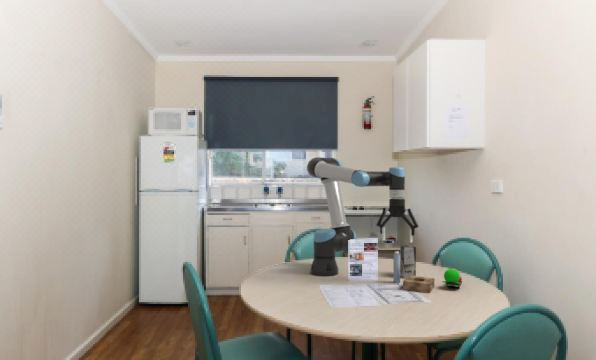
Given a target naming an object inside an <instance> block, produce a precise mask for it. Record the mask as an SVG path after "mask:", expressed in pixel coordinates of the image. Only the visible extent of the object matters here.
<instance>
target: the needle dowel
mask: <svg viewBox="0 0 596 360" xmlns="http://www.w3.org/2000/svg"><path fill="white" fill-rule="evenodd" d="M392 280H393V283H395V284H400V283H401V275H400V251H399V250H398V251H394V253H393V277H392Z"/></svg>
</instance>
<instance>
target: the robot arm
mask: <svg viewBox="0 0 596 360" xmlns="http://www.w3.org/2000/svg"><path fill="white" fill-rule="evenodd" d="M306 171H307V173H308V174H309V176H311V177H312V178H315V179H316V178H318V179H320V182H321V183H322V184H323V185H324V190H325V196H326V201H327V207H328V212H329V217H330V223H331V226H330V228H321V229H317V230H316V231H315V232H314V234H313V259H312V260H313V261H312V263H311V266H310V274H311V275H313V274H314V276H318V277H330V276H337V275H339V266H338V264H337V260H336V253H338V252H345V251H349V250H348V240H350V239H356V240H357V234H356V232H355V231H354V229H351V224H349V223H348V222H347V218H346V212H345V207H344V202H343V197H342V193H341V186H340V182H344V183H348V184H353V185H354V186H356V187H360V188H365V187H388V189H389V190H388V192H389V195H388V196H389V199H388V201H389V202H388V206H389V207H388V208H387V207H383V208H382V213H381V214H380V217H379V218H378V220H377V221H376V226H377V227H379V229H380V230H379V231H380V232H379V233H380V234H381V240H382V242H383V241H386V227H385V225H386V224H387V223H388V222H389V221H390V220H391V218H402V219H403V220H404V221H405V223H407V225H408V226H409V243H410V244H411V243H413V236H415V232H416V229H417V228H419V223H418V222H417V220H416V217H415V216H414V215H413V211H412V210H413V209H412V208H411V207H410V208H406V191H405V190H406V187H405V185H406V184H405V182H406V174H405V173H406V172H405V168H404V167H402V166H399V167H398V166H396V167H395V166H394V167H393V166H392V167H389V168H388V171H377V170H375V171H369V170H368V171H366V170H361V169H356V168H350V167H345V166H343V163H342V162H341V161H340V160H339V159H338V158H336V157H335V158H334V157H314V158H312V159H310V160H309V161H308V162H307V165H306ZM321 183H320V184H321ZM388 212H389V214H388V216H386V214H387V213H388ZM405 213H407V214H408V215H409V217H410V219H409V218H408V217H407V216H406V214H405ZM385 216H386V218H385V219H384V217H385ZM383 220H384V221H383ZM410 220H411V221H410Z"/></svg>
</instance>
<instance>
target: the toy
mask: <svg viewBox="0 0 596 360" xmlns="http://www.w3.org/2000/svg"><path fill="white" fill-rule="evenodd" d="M443 273H444V274H443V278H444V281H442V283H444V284H445V285H446V287H447V288H453V289H461V287H460V285H462V283H463V279H462V276H461V274H460V271H459V270H457V269H456V268H453V267H452V268H448V269H447V270H445V271H444V272H443Z"/></svg>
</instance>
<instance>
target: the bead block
mask: <svg viewBox="0 0 596 360" xmlns="http://www.w3.org/2000/svg"><path fill="white" fill-rule="evenodd" d="M434 288H435V278H434V277H427V276H425V277H424V276H417V275H416V276H408V277H407V278H404V280H402V290H403V291H409V292H410V291H412V292H418V293H427V294H430V293H431V292H432V291H433V289H434Z"/></svg>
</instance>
